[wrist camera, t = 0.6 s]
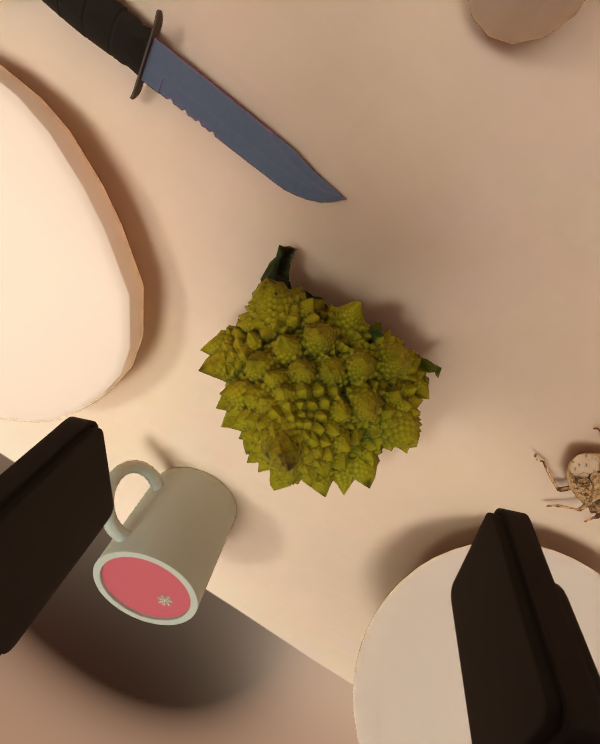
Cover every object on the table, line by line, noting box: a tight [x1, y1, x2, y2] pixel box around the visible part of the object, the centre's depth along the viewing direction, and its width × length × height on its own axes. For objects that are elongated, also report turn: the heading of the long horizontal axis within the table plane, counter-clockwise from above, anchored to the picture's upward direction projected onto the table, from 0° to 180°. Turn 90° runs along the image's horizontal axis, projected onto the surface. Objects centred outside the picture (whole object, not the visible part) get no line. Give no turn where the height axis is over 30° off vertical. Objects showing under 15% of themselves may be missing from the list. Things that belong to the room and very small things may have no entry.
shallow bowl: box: [353, 544, 600, 744], centre depth 36 cm, size 25×25×6 cm
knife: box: [42, 0, 345, 202], centre depth 25 cm, size 24×2×5 cm
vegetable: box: [199, 245, 441, 497], centre depth 29 cm, size 15×16×15 cm
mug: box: [93, 460, 237, 625], centre depth 38 cm, size 14×9×10 cm
